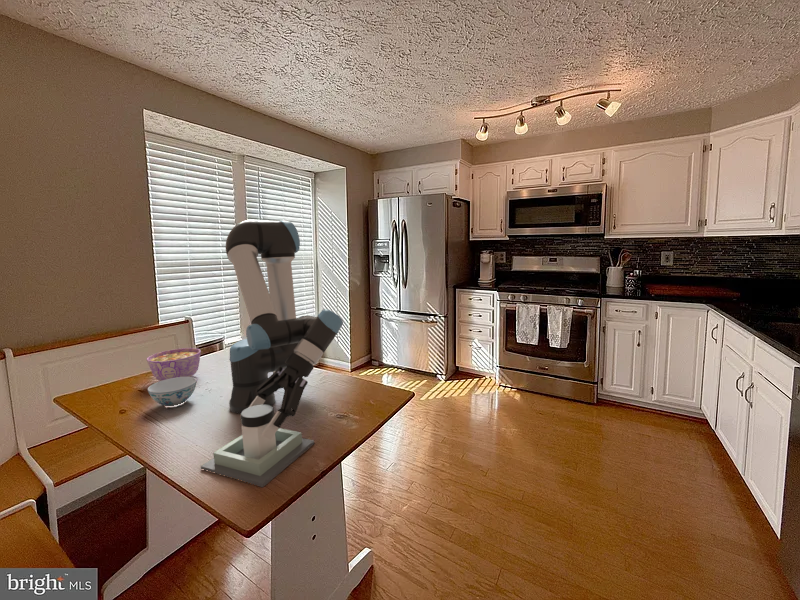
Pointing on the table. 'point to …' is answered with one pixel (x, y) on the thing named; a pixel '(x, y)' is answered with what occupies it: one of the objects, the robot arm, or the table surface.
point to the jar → (257, 431)
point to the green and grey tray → (264, 469)
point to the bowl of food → (174, 363)
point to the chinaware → (172, 390)
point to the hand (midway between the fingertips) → (255, 427)
